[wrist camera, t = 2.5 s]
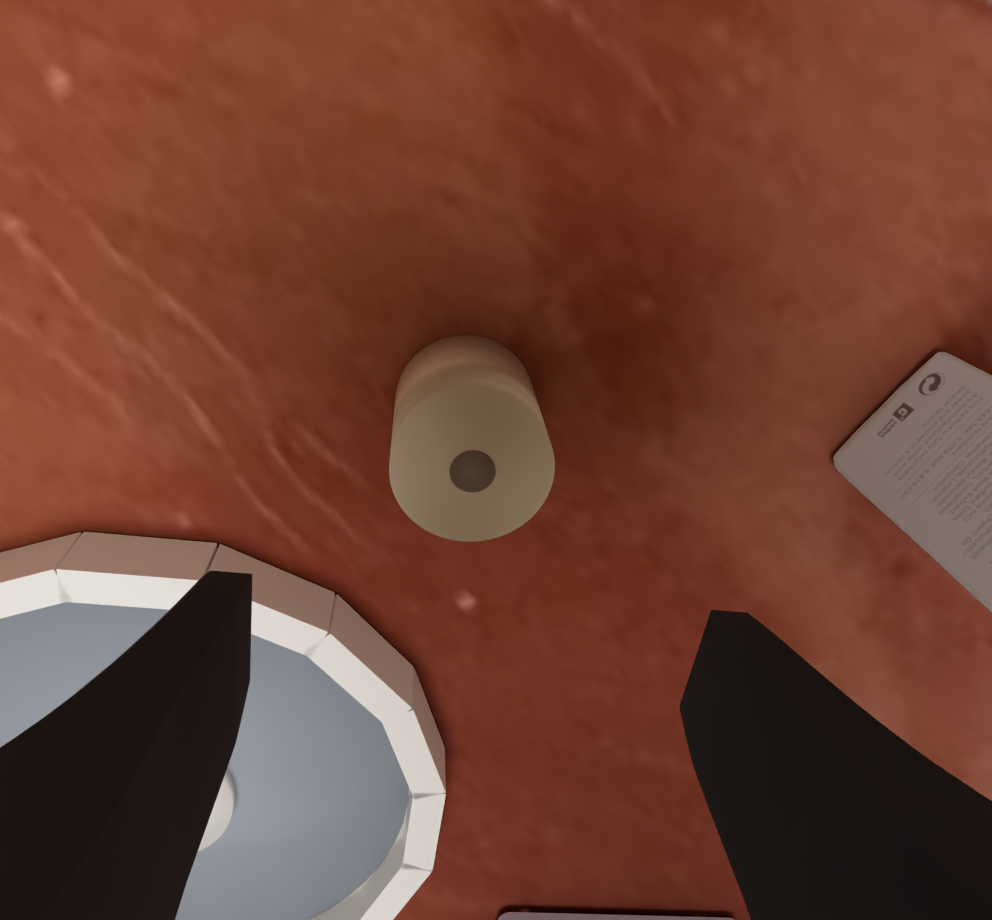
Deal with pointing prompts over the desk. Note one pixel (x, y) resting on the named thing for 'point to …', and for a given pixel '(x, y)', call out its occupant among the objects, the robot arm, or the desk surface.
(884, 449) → the skincare box
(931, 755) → the desk surface
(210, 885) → the ring tray
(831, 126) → the desk surface
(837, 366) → the desk surface
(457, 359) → the wooden bead
